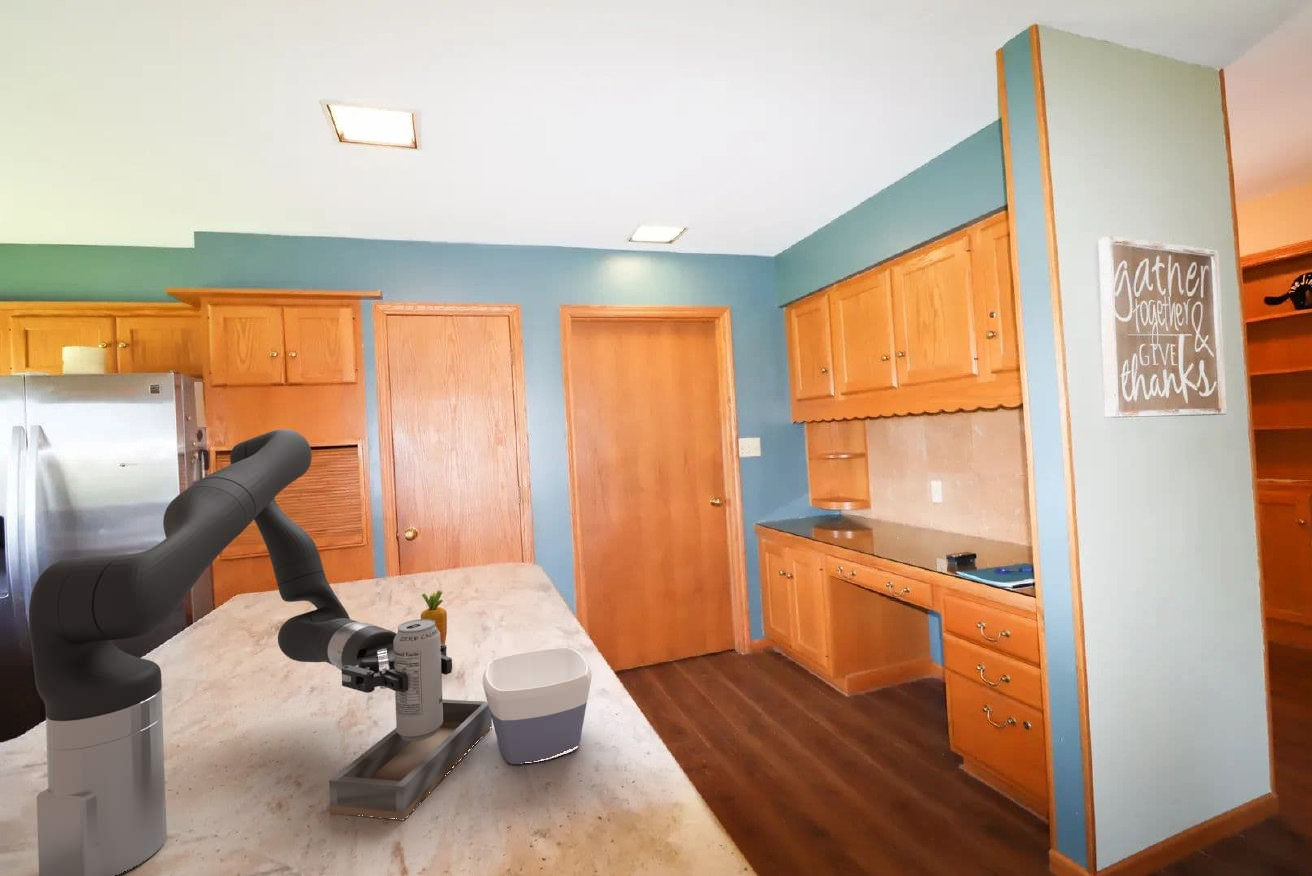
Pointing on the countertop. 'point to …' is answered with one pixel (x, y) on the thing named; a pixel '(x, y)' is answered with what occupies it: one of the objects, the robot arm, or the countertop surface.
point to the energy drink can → (419, 679)
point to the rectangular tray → (407, 765)
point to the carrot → (436, 614)
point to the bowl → (537, 702)
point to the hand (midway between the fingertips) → (428, 675)
